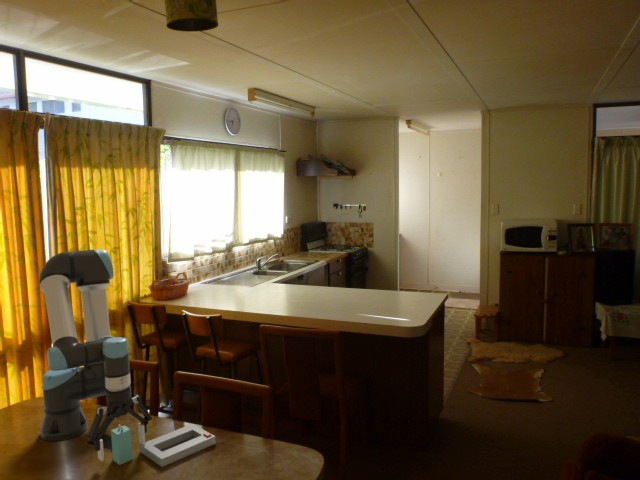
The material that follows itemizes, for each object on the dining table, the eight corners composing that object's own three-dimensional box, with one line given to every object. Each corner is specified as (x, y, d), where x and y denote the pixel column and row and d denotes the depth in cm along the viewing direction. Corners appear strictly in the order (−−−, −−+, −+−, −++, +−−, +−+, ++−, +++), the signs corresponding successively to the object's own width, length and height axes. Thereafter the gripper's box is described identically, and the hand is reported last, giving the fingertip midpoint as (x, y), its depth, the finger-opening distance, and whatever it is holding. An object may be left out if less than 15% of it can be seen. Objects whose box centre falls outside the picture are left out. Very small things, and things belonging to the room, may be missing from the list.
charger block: (112, 460, 170) (110, 426, 168) (126, 454, 173) (124, 421, 172) (119, 464, 166) (117, 430, 165) (132, 459, 170) (130, 425, 168)
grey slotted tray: (140, 452, 174) (139, 442, 174) (192, 431, 188) (192, 422, 188) (162, 467, 164) (161, 457, 164) (215, 444, 179) (215, 434, 178)
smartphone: (102, 433, 187) (134, 441, 181) (102, 435, 187) (134, 443, 181) (84, 443, 180) (117, 451, 174) (84, 445, 180) (117, 453, 174)
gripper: (83, 402, 155) (87, 470, 157) (160, 378, 173) (163, 440, 175) (72, 395, 161) (77, 462, 163) (148, 373, 179) (152, 433, 181)
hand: (122, 451), depth 169 cm, fingers open, 13 cm apart
